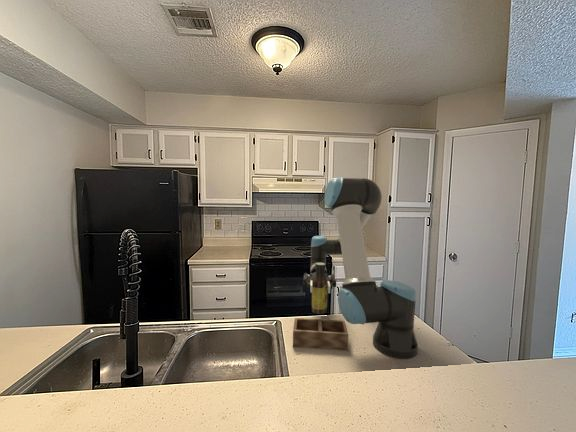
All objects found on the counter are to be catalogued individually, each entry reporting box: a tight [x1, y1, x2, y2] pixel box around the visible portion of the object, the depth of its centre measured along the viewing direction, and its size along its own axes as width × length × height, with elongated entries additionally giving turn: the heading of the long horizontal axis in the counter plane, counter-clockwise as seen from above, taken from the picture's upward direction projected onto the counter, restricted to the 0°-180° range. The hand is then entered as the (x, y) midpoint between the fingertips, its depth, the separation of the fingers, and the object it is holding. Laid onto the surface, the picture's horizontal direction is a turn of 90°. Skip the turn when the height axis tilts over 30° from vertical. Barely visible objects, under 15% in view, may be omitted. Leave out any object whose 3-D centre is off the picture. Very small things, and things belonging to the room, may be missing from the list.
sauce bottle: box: [311, 263, 329, 315], centre depth 111 cm, size 6×6×20 cm
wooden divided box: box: [292, 317, 349, 352], centre depth 102 cm, size 19×10×6 cm, turn 85°
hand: (320, 289), depth 106 cm, fingers closed on sauce bottle, 6 cm apart
